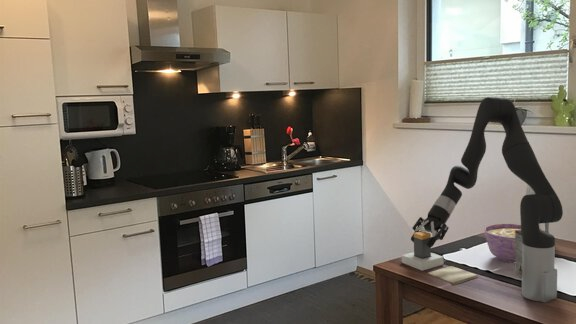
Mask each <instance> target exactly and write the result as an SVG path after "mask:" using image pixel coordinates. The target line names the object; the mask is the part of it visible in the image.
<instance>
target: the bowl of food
mask: <svg viewBox="0 0 576 324" xmlns="http://www.w3.org/2000/svg"><path fill="white" fill-rule="evenodd" d="M483 230H484V234H485V238H486V243H487V246H488V249H489V251H490V253H491V254H492V255H493V256H494V257H496V258H497V259H500V260H501V261H502V262H505V261H506V262H505V263H510V262H511V263H512V264H513V263H514V264H515V231H516V230H521V224H520V223H519V224H517V223H496V224H491V225H488V226H485V227H484V229H483Z"/></svg>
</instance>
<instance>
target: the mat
mask: <svg viewBox="0 0 576 324" xmlns="http://www.w3.org/2000/svg"><path fill="white" fill-rule="evenodd" d="M427 274H428V275H431V276H433V277H435V278H438V279H441V280H443V281H445V282H448V283H449V284H450V285H453V286H454V285H458V284H461V283H463V282H466V281H467V282H468V281H469V280H473V279H477V278H478V274H476V273H474V272H473V273H472V272H470V271H467V270H464V269H461V268H459V267H457V266H456V267H455V266H454V265H450V266H446V267H443V268H440V269H436V270H433V271H430V272H427Z"/></svg>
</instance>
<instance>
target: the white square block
mask: <svg viewBox="0 0 576 324" xmlns="http://www.w3.org/2000/svg"><path fill="white" fill-rule="evenodd" d="M444 260H445V259H444V256H442V255H439V254H437V253H434V252H431V257H428V258H424V259H421V258H418V257H415V256H414V251H412V252H410V253H405V254H401V263H402V264H405V265H406V266H410V267H412V268H415V269H417V270H420V271H426V270H429V269H433V268H436V267H440V266H443V265H444V263H445V262H444Z"/></svg>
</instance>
